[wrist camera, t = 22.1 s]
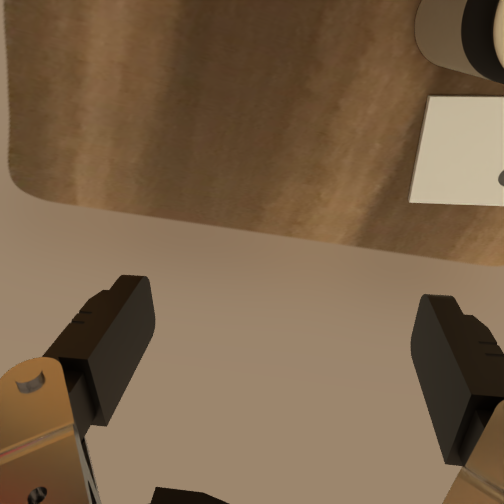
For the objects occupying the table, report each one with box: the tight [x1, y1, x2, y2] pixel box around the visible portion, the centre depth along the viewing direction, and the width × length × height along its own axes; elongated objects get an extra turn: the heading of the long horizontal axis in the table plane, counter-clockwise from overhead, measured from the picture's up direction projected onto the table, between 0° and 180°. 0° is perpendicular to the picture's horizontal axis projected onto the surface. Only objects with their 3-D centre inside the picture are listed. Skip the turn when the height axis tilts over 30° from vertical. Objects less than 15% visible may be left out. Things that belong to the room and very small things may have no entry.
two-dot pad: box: [408, 95, 504, 206], centre depth 41 cm, size 11×11×1 cm
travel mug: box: [415, 0, 504, 84], centre depth 28 cm, size 8×8×18 cm
